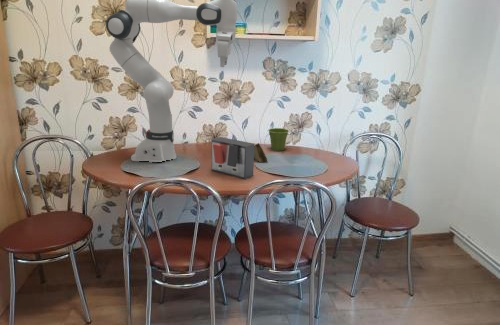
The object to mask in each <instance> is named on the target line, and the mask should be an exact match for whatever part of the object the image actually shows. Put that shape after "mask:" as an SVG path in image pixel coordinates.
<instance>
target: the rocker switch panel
mask: <svg viewBox="0 0 500 325" xmlns="http://www.w3.org/2000/svg"><path fill="white" fill-rule="evenodd" d="M213 144H219V145H222V153H223V162H224V163H223V164H219V163H215V158H214V150H213ZM229 145H234V146H239V147H238V155H237V163H236V167H232V166H228V165H227V162H228V153H229ZM254 146H255V143H253V142H249V141H248V142H247V141H243V140H238V139H233V138H227V137H223V136H218V137H215V138H212V139H211V172H215V173H219V174H223V175H227V176H230V177H234V178H238V179H240V180H241V179H242V180H247V179H250V178H252V177H254V166H255V165H254V164H255V159H254Z"/></svg>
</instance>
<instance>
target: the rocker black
mask: <svg viewBox="0 0 500 325" xmlns="http://www.w3.org/2000/svg"><path fill="white" fill-rule="evenodd" d="M238 147H239V146H234V145H229V153H228V162H227V165H228V166H232V167H236V163H237V155H238Z"/></svg>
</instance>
